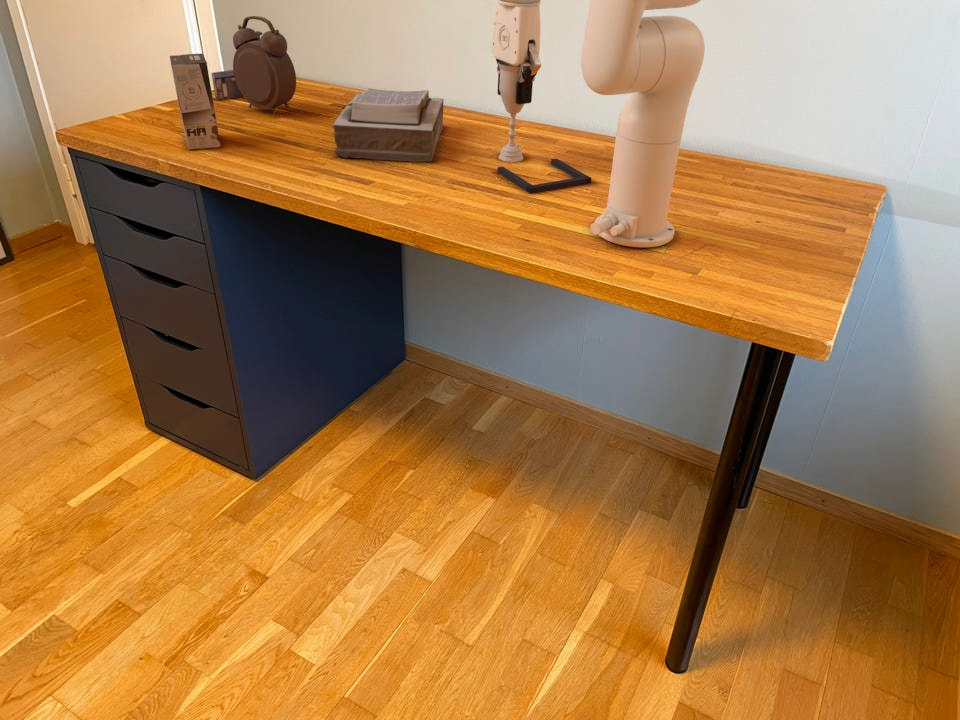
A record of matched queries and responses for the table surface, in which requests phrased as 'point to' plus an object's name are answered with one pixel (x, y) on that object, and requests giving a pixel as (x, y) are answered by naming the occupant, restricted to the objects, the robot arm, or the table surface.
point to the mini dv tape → (225, 85)
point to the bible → (389, 126)
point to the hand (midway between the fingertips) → (514, 97)
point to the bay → (578, 180)
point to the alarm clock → (263, 67)
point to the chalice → (510, 108)
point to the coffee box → (195, 100)
